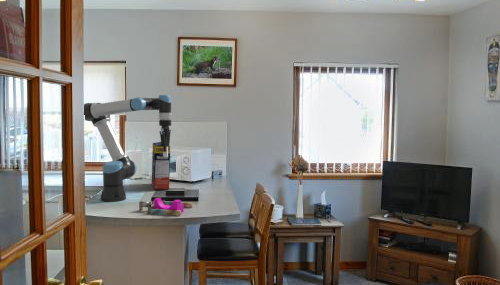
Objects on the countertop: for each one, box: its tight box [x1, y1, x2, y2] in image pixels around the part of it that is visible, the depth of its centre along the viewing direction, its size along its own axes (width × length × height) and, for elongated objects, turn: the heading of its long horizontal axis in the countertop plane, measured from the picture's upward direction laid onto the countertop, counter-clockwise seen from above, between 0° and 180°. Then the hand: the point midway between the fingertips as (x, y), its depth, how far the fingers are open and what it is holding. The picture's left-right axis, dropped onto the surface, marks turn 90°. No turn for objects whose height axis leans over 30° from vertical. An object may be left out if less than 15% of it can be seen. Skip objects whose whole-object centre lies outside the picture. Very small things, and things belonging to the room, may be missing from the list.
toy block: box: [153, 197, 184, 214], centre depth 230 cm, size 15×6×8 cm, turn 68°
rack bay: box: [147, 199, 194, 217], centre depth 234 cm, size 18×20×3 cm
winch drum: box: [138, 200, 154, 212], centre depth 234 cm, size 7×5×5 cm, turn 79°
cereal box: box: [151, 141, 171, 191], centre depth 301 cm, size 27×11×32 cm, turn 17°
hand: (165, 156), depth 264 cm, fingers closed
